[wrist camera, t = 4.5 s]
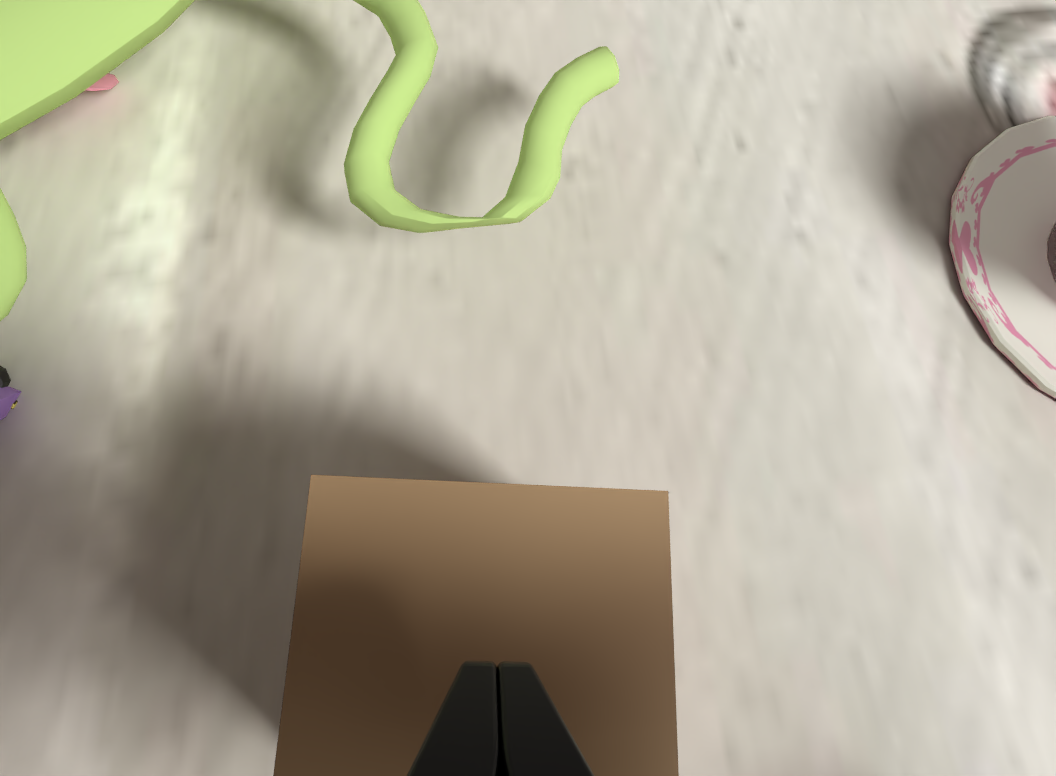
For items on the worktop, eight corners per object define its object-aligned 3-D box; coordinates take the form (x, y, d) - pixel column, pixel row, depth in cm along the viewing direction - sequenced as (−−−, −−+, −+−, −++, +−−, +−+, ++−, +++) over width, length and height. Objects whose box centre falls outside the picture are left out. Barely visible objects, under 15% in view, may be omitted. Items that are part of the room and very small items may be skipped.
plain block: (585, 789, 18) (682, 902, 10) (340, 786, 18) (257, 904, 10) (586, 544, 20) (667, 491, 12) (365, 535, 19) (311, 475, 12)
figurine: (640, 249, 24) (696, 140, 18) (-314, 592, 18) (-637, 576, 12) (429, -145, 28) (426, -323, 23) (-384, 22, 22) (-641, -167, 17)
